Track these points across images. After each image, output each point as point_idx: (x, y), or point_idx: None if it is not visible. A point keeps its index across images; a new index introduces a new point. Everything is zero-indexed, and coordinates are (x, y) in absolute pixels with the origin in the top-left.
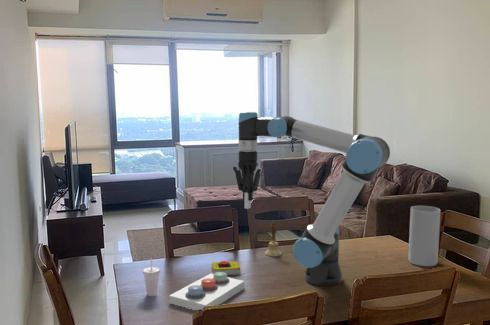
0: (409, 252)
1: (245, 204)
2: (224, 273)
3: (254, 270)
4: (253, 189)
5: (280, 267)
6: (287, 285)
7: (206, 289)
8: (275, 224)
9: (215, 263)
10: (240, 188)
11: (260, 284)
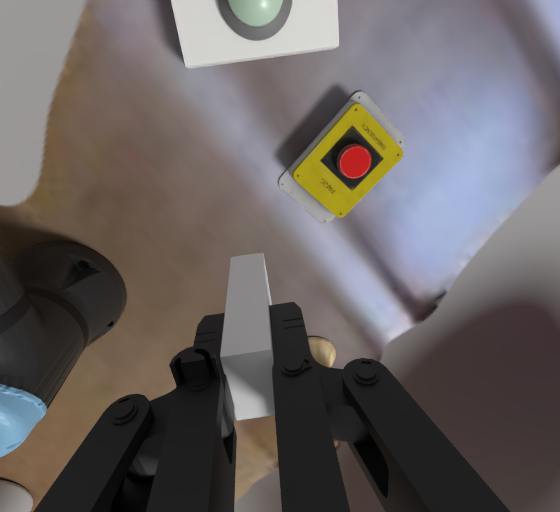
0: (4, 509)
1: (254, 272)
2: (248, 13)
3: (271, 223)
4: (108, 426)
5: (226, 289)
6: (107, 186)
7: None
8: None
9: (389, 154)
10: (354, 382)
11: (175, 137)
